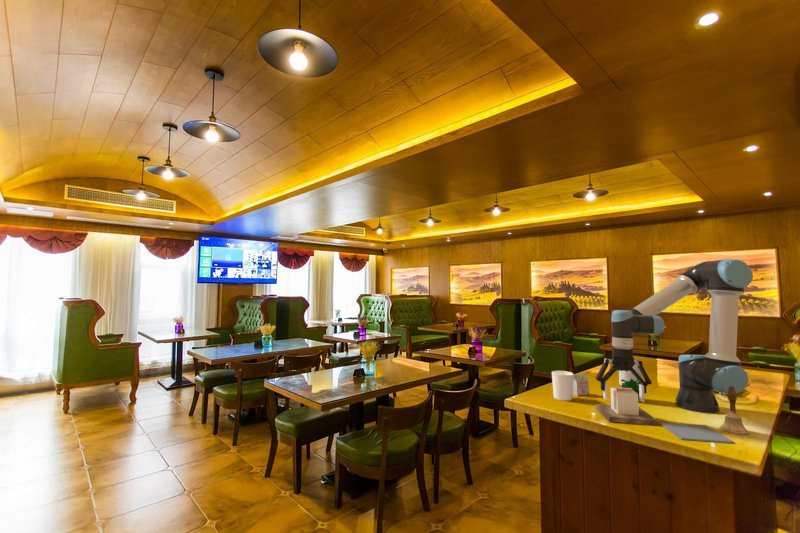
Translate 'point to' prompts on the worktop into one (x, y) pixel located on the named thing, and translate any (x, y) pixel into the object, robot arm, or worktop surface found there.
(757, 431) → the worktop surface
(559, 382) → the candle holder
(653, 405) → the worktop surface
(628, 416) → the post stand
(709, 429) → the mat
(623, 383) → the milk carton
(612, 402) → the white cubic block
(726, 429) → the hand bell
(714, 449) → the worktop surface
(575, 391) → the tea bag
